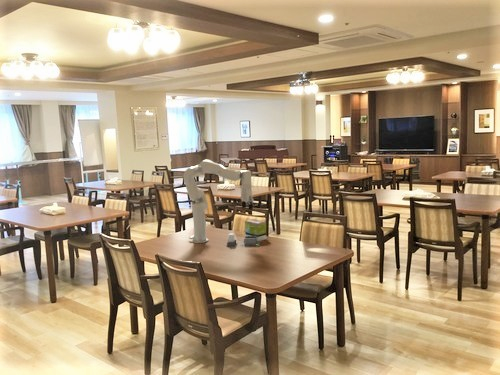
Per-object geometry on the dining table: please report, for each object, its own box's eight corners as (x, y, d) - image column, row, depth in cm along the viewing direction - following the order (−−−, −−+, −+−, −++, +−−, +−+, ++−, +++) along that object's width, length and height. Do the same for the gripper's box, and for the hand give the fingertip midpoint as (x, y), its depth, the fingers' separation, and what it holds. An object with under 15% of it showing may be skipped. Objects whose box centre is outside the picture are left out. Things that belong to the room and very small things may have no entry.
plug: (228, 245, 333) (228, 234, 332) (229, 244, 337) (229, 233, 336) (234, 245, 333) (233, 234, 331) (234, 244, 337) (234, 233, 335)
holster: (225, 247, 331) (225, 242, 330) (227, 244, 340) (227, 239, 339) (236, 247, 330) (236, 242, 330) (237, 244, 339) (237, 239, 338)
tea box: (244, 238, 356) (244, 220, 354) (254, 236, 363) (253, 218, 361) (257, 241, 345) (257, 223, 343) (266, 239, 352) (266, 221, 350)
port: (240, 246, 331) (240, 239, 331) (242, 242, 343) (241, 235, 342) (259, 246, 330) (258, 239, 329) (260, 242, 342) (259, 235, 341)
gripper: (236, 186, 343) (237, 207, 345) (248, 188, 329) (249, 210, 331) (244, 185, 347) (245, 206, 349) (256, 187, 333) (257, 209, 335)
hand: (247, 208), depth 340 cm, fingers open, 9 cm apart
